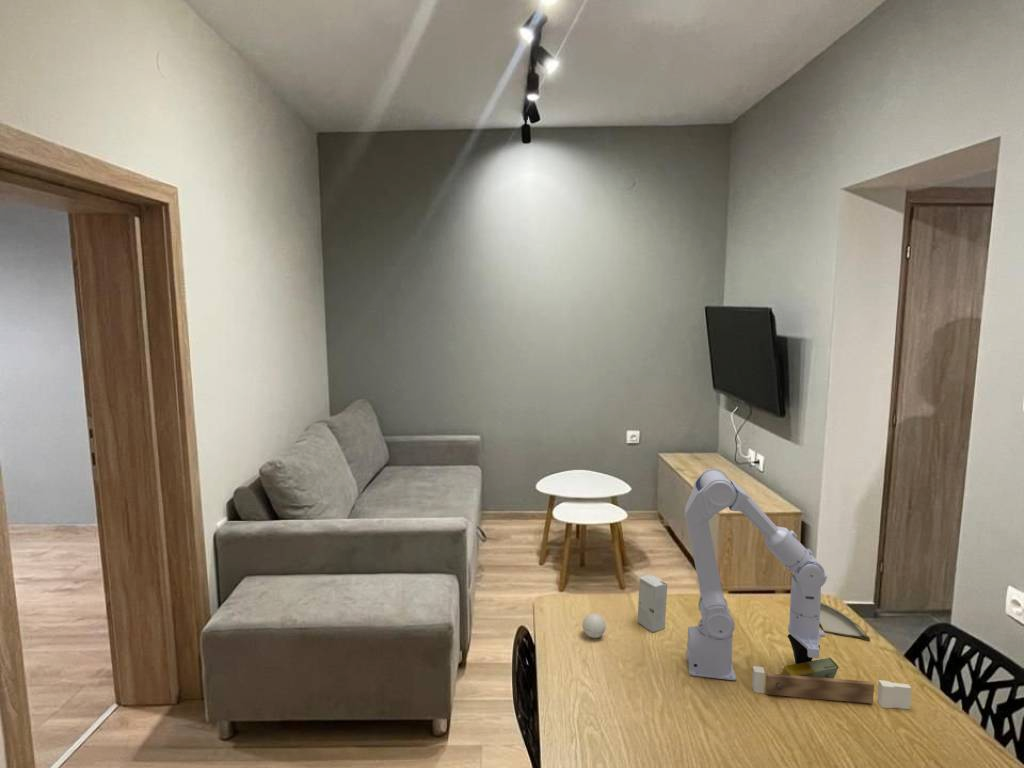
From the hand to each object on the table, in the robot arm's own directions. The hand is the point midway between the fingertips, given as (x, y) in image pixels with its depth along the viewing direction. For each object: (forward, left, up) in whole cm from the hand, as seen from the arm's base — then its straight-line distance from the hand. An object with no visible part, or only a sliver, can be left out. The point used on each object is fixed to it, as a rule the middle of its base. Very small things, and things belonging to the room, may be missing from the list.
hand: (802, 670), depth 124 cm
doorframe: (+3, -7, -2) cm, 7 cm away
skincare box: (-31, +15, -2) cm, 35 cm away
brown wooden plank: (+1, -7, -1) cm, 8 cm away
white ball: (-46, +7, -2) cm, 47 cm away
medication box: (0, -2, -1) cm, 2 cm away
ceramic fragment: (+13, +25, -2) cm, 28 cm away
